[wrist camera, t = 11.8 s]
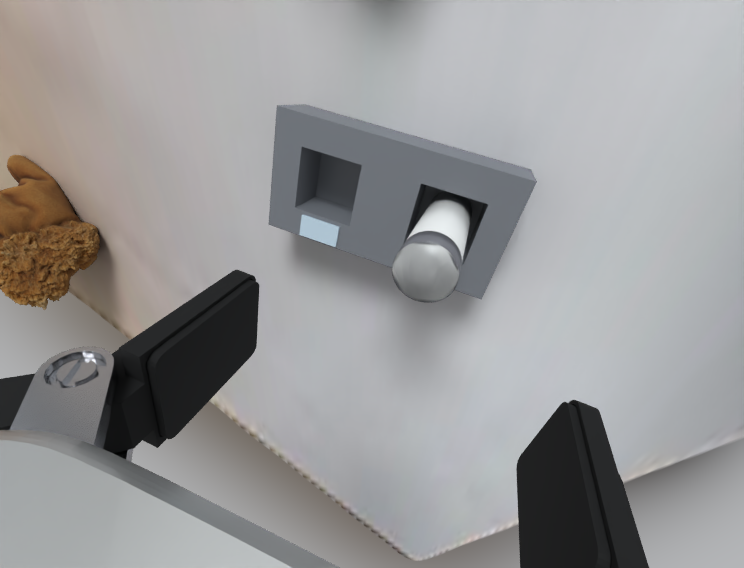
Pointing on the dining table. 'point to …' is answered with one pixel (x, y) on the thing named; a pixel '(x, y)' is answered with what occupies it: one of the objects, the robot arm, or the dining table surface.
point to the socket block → (387, 189)
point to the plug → (434, 250)
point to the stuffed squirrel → (40, 237)
